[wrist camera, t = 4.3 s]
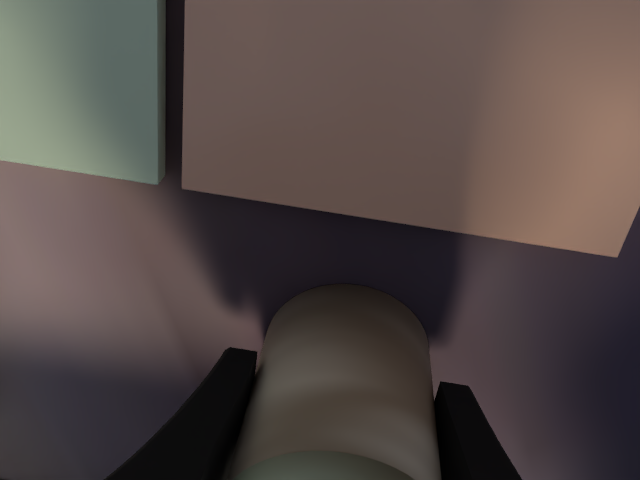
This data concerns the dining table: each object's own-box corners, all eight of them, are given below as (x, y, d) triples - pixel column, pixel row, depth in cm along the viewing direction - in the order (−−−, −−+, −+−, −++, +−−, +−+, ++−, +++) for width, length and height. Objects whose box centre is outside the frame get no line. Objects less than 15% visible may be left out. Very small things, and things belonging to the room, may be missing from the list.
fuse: (448, 297, 14) (491, 571, 8) (412, 425, 16) (426, 714, 10) (270, 268, 14) (193, 521, 8) (256, 399, 16) (187, 673, 10)
